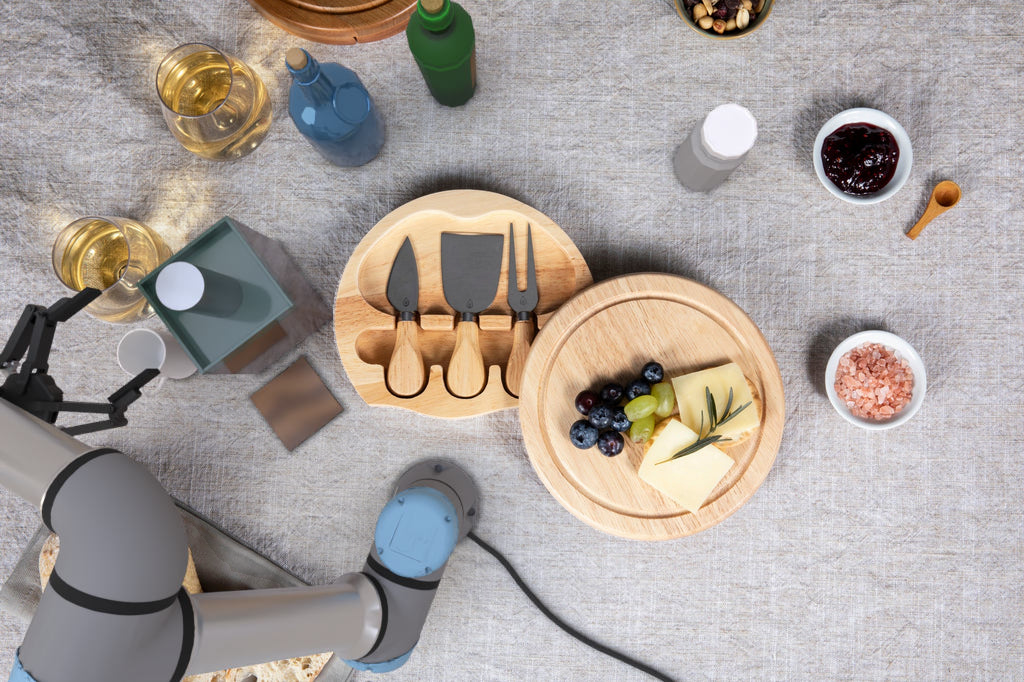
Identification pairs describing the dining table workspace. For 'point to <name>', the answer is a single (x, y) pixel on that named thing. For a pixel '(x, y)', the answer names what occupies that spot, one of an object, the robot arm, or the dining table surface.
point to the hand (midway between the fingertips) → (124, 330)
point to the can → (198, 290)
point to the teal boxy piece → (242, 302)
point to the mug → (153, 356)
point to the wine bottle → (333, 110)
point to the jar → (715, 147)
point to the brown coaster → (296, 403)
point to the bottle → (444, 50)
